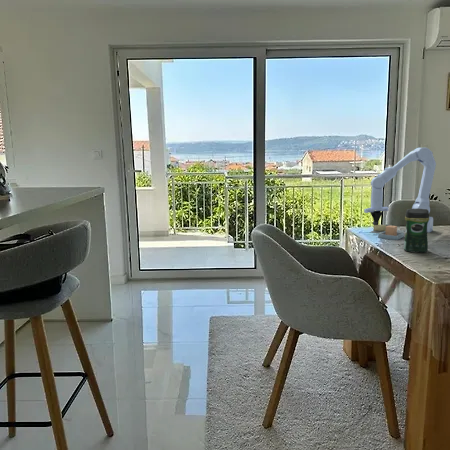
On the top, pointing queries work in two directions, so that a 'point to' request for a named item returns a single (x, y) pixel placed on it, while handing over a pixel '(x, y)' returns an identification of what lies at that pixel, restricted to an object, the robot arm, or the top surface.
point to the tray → (399, 236)
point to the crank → (379, 226)
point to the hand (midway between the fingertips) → (375, 225)
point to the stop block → (391, 230)
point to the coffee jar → (416, 230)
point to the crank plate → (383, 231)
